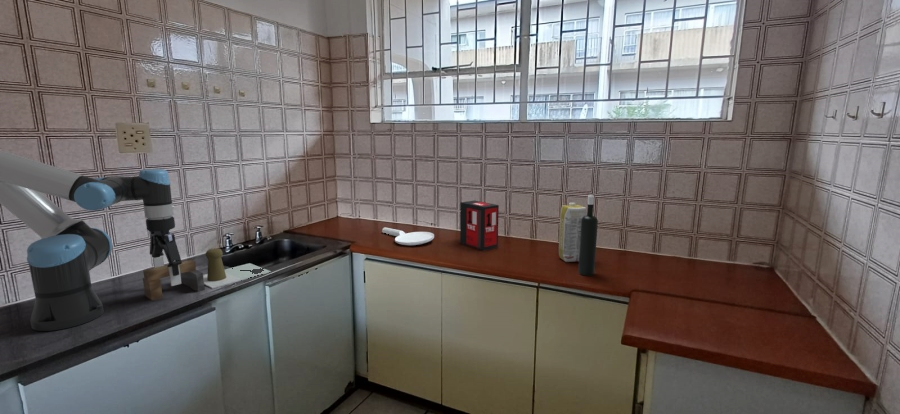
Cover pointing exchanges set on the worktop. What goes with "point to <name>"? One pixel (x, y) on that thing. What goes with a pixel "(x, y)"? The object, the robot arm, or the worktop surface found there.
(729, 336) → the worktop surface
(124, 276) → the worktop surface
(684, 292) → the worktop surface
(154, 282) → the wooden arch block
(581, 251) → the wine bottle
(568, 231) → the juice carton
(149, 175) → the robot arm
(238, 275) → the plate
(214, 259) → the cork
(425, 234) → the frying pan
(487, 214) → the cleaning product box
